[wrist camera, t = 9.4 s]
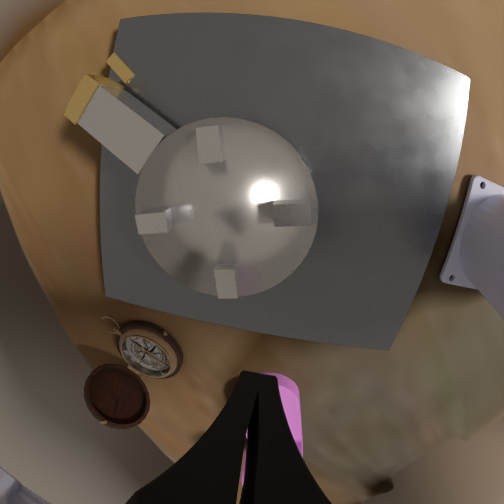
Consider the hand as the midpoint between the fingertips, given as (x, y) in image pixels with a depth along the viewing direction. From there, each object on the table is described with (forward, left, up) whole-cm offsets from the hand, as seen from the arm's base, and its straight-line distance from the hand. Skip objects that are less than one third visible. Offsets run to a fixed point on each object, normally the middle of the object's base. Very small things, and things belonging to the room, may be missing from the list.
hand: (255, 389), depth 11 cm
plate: (+1, -6, -10) cm, 12 cm away
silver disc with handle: (+6, -7, -8) cm, 12 cm away
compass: (+10, +9, -10) cm, 17 cm away
